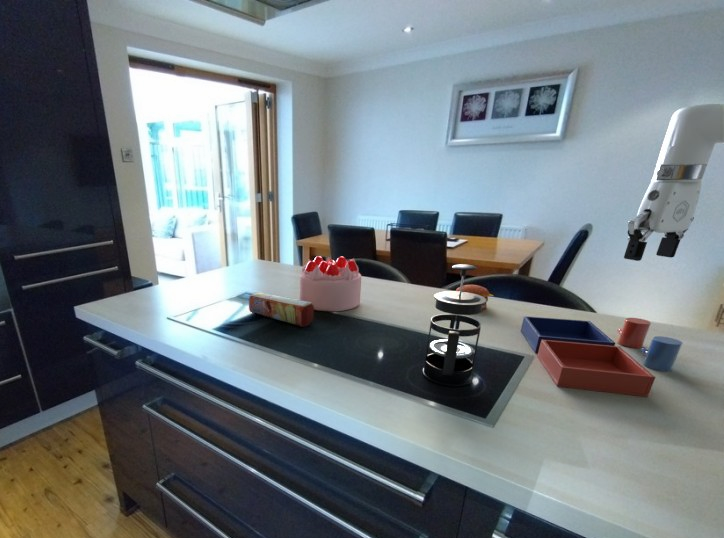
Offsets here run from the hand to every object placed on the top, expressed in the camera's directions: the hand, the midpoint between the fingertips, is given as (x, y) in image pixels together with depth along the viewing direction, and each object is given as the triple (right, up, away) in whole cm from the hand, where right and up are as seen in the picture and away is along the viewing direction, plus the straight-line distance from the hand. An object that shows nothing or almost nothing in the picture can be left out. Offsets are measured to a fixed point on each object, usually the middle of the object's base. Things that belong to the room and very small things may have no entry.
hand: (648, 257), depth 86 cm
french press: (-48, -26, -7) cm, 55 cm away
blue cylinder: (-2, -23, -3) cm, 23 cm away
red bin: (-20, -25, -7) cm, 33 cm away
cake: (-65, -6, +42) cm, 78 cm away
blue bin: (-14, -19, +7) cm, 25 cm away
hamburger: (-22, -8, +35) cm, 42 cm away
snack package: (-82, -12, +29) cm, 87 cm away
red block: (+2, -19, +8) cm, 20 cm away
